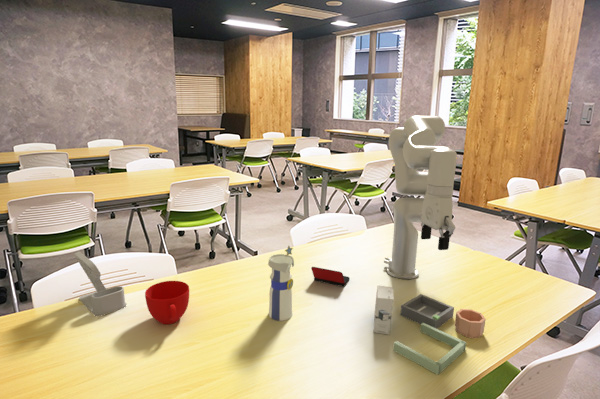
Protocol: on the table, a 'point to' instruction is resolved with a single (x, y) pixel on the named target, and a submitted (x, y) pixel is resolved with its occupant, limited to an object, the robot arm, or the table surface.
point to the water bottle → (281, 286)
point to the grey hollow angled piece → (100, 290)
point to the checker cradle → (427, 311)
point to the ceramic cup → (167, 301)
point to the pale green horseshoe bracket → (427, 362)
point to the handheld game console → (329, 276)
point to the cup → (469, 323)
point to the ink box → (383, 309)
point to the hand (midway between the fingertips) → (434, 244)
